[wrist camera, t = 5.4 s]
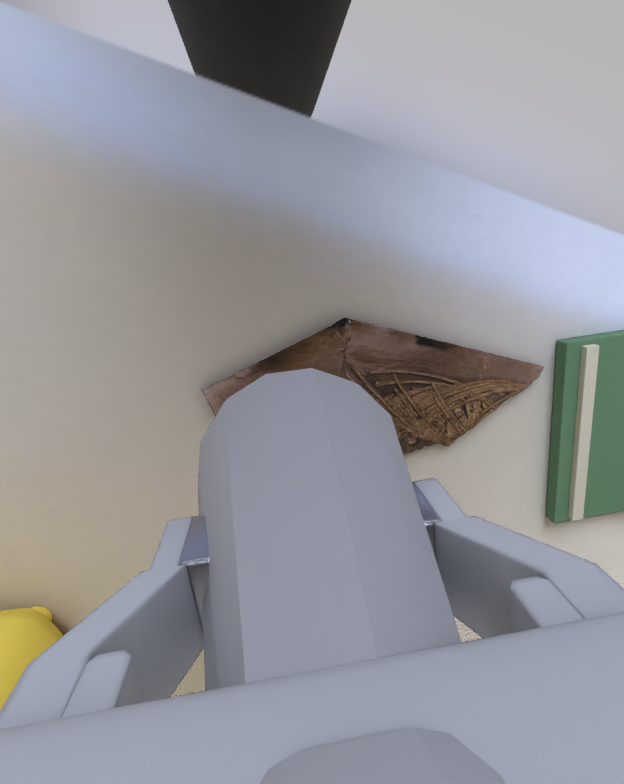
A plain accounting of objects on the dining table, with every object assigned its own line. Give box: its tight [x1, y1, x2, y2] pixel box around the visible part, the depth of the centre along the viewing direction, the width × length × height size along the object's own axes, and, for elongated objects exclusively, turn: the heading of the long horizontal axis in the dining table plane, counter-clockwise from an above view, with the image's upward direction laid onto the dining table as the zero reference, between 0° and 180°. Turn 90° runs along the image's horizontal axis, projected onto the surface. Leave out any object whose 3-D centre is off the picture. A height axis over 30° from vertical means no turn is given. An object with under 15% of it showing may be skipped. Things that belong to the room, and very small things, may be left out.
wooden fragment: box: [199, 318, 544, 455], centre depth 31 cm, size 26×11×1 cm, turn 90°
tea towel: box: [546, 330, 624, 523], centre depth 34 cm, size 16×9×2 cm, turn 7°
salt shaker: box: [198, 368, 506, 784], centre depth 8 cm, size 6×6×13 cm
